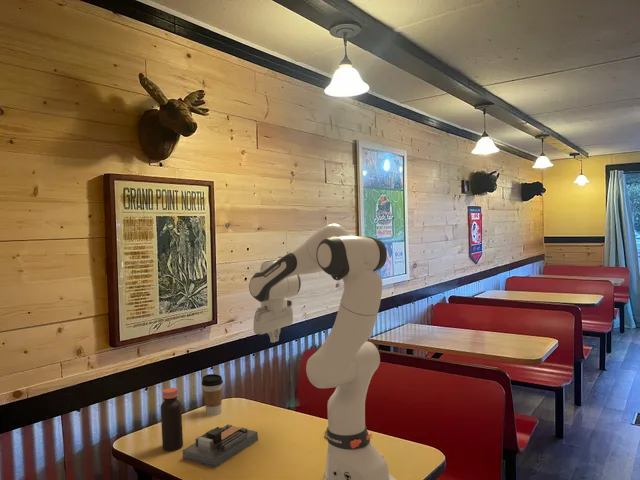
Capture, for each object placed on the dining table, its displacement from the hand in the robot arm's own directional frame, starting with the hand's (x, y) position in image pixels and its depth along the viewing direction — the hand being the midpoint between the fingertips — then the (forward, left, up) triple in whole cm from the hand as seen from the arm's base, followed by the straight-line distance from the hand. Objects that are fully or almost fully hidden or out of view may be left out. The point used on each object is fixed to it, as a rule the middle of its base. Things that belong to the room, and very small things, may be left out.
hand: (274, 341), depth 179 cm
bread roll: (-20, -12, -33) cm, 40 cm away
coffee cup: (+32, +10, -33) cm, 47 cm away
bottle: (+14, +35, -33) cm, 50 cm away
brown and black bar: (+3, +15, -27) cm, 31 cm away
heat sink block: (0, +23, -33) cm, 40 cm away
